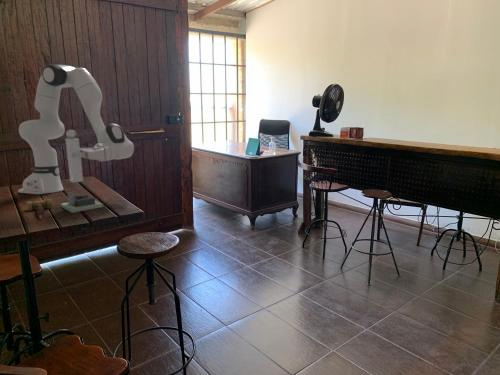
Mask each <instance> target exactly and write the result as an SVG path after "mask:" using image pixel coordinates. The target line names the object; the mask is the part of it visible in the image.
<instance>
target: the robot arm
mask: <svg viewBox="0 0 500 375" xmlns="http://www.w3.org/2000/svg"><path fill="white" fill-rule="evenodd" d="M63 88H65V89H66V88H73V89H74V91H75V93H76V95H77V97H78V98H79V101H80V103H81V105H82V108H83V110H84V113H85V116H86V118H87V121H88V122H89V125H90V126H91V130H92V131H93V133H94V136H95V145H93V146H92V147H80V153H74V157H81V158H82V159H83V158H84V159H86V160H87V159H88V160H93V161H96V160H97V162H106V161H111V160H122V159H129V158H131V157H132V156H133V155H134V152H135V146H134V143H133V142H132V141H131V140H129V138H128V137H127V135H126V134H125V132H124V129H123V127H122V126H121V125H120V124H117V123H114V122H112V123H108V124H107V125H105V124H104V121H103V118H102V117H101V106H102V103H103V94H102V90H101V88H100V86H99V85H98V83H97V81H96V80H95V78H94V77H93V76H92V74H91V72H89V71H88V70H87V69H86V68H85V67H77V66H75V65H74V66H72V65H69V64H68V65H67V64H54V63H52V64H51V63H50V64H47V65H44V67H43V69H42V74H41V76H40V77H39V80H38V83H37V87H36V91H35V99H34V105H33V106H34V108H35V110H36V111H37V112H39V114H40V118H39V119H29V120H26V121H23V122H22V123H20V124H19V127H18V134H19V136H20V137H21V138H22V140H24V141H26V142H27V143H28V145H29V146H30V148H31V151H32V153H33V154H32V155H33V159H34V166H33V167H31V168H30V171H32V170H33V171H32V173H31V174H30V175H28V176H27V177H26V178H25V179H24V180H23V181H22V188H20V189H18V193H21V194H29V195H30V194H31V195H43V194H50V193H51V194H52V193H58V192H61V191H64V190H65V188H64V187H63V185H62V181H61V177H60V176H61V175H60V165H59V164H58V154H57V151H56V149H55V148H53V147H52V146H51V145H50V143H49V141H50V140H56V139H58V138H60V137H63V135H64V134H65V131H66V129H65V125H64V123H63V122H62V121H61V119H60V116H59V106H60V98H61V93H62V92H61V91H62V89H63Z"/></svg>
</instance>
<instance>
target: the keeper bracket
mask: <svg viewBox="0 0 500 375" xmlns="http://www.w3.org/2000/svg"><path fill="white" fill-rule="evenodd" d="M66 194H67V202H62V203H60V207H61V208H63V209H64V210H66V211H68V212H70V213H72V214H73V213H78V212H83V211H89V210H94V209H95V210H96V209H99V208H104V205H103V204H104V203H101V202H100V201H97V200H96V197H94V196H93V197H89V194H82V195H77V194H75V193H73V192H70V191H67V192H66Z"/></svg>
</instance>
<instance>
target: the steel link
mask: <svg viewBox="0 0 500 375" xmlns="http://www.w3.org/2000/svg"><path fill="white" fill-rule="evenodd" d="M65 134H66V138H65V147H66V155H67V157H66V158H67V164H68V175H69V181H70V182H72V183H80V182H84V176H83V165H82V164H83V163H82V157H74V153H80V148H81V147H80V139H79V138H78V137H77V136H78V132H77V131H76V130H75V129H68V130H67V131H66V133H65Z"/></svg>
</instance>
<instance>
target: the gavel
mask: <svg viewBox="0 0 500 375" xmlns="http://www.w3.org/2000/svg"><path fill="white" fill-rule="evenodd" d="M52 201H53V200H52V198H47V199H46V200H44V199H43V200H35V201H32V200H29V201H26V208H27V212H32V211H34V210H35V211H36V214H37V215H36V216H37V218H38V219H39V220H40V219H43V218H45V211H44V209H53V202H52Z"/></svg>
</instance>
